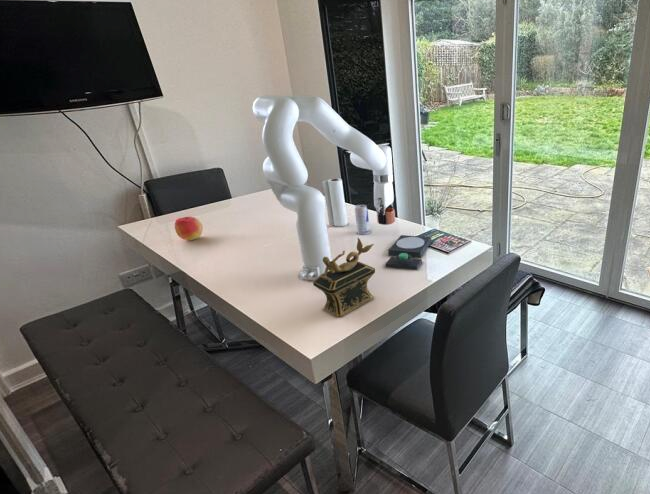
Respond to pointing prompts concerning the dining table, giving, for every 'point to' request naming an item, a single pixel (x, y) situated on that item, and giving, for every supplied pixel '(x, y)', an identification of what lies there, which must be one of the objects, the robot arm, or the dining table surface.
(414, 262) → the scale panel
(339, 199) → the paper towel roll
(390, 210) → the bowl
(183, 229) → the apple
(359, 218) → the energy drink
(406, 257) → the tare button
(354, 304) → the decorative box
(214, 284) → the dining table surface
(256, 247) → the dining table surface
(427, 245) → the scale
